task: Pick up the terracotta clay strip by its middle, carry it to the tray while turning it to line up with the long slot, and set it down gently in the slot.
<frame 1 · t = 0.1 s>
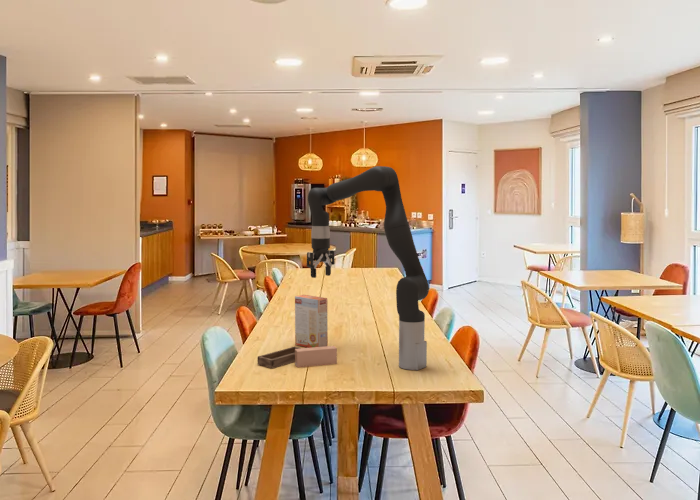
hand: (321, 276, 238), 29 cm above the table, tool pointing down, fingers open, 8 cm apart
cracker box: (311, 346, 240), on the table
tray: (283, 360, 219), on the table
clay strip: (316, 364, 215), on the table
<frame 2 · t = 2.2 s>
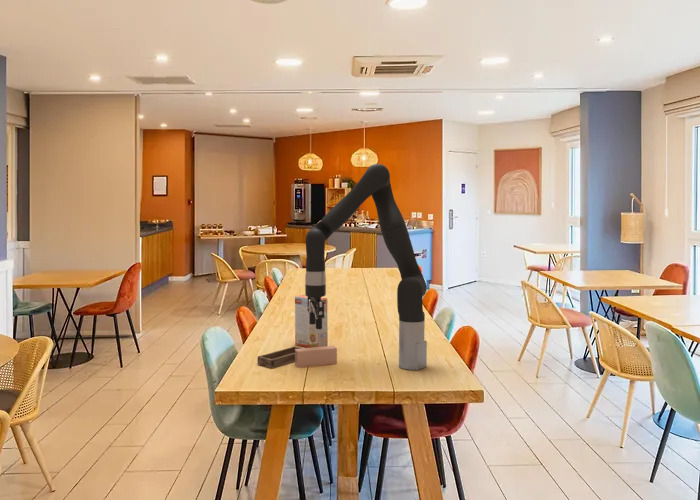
hand: (315, 326, 214), 14 cm above the table, tool pointing down, fingers open, 8 cm apart
nothing on the table moved.
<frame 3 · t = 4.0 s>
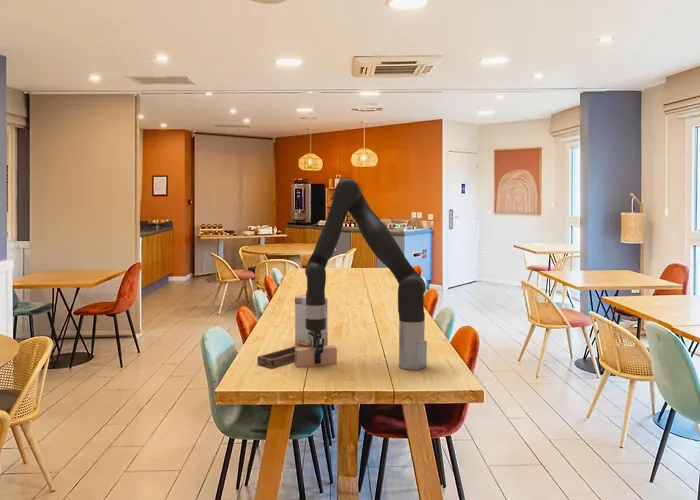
hand: (315, 361, 215), 1 cm above the table, tool pointing down, fingers closed on clay strip, 4 cm apart
clay strip: (315, 364, 215), on the table, touching gripper
everything else where it was.
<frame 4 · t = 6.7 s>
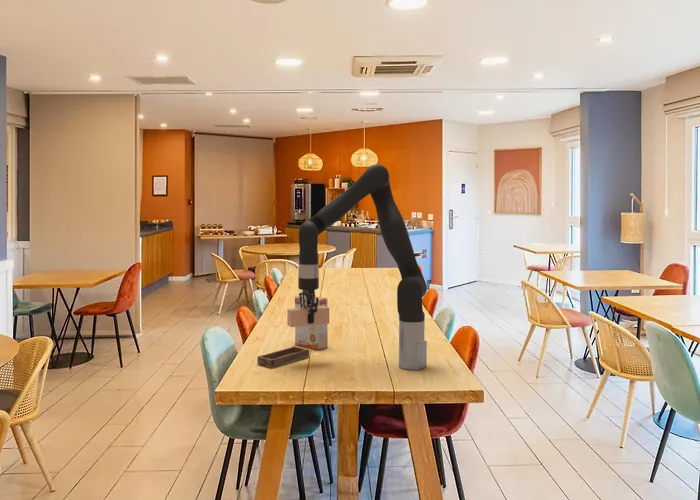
hand: (308, 321, 214), 16 cm above the table, tool pointing down, fingers closed on clay strip, 4 cm apart
clay strip: (308, 324, 214), point 15 cm above the table, touching gripper
everything else where it was.
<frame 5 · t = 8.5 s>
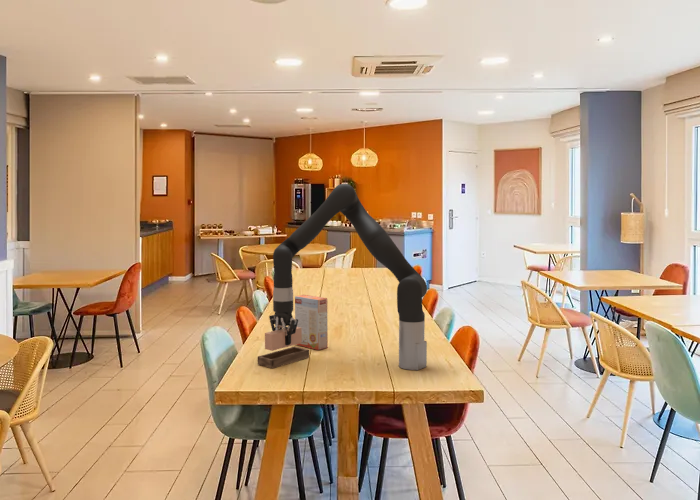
hand: (283, 343, 219), 7 cm above the table, tool pointing down, fingers closed on clay strip, 4 cm apart
clay strip: (283, 345, 219), point 6 cm above the table, touching gripper
everything else where it was.
when the fingers open (3 cm above the table, at t = 9.6 s): clay strip drops 1 cm, resting on tray.
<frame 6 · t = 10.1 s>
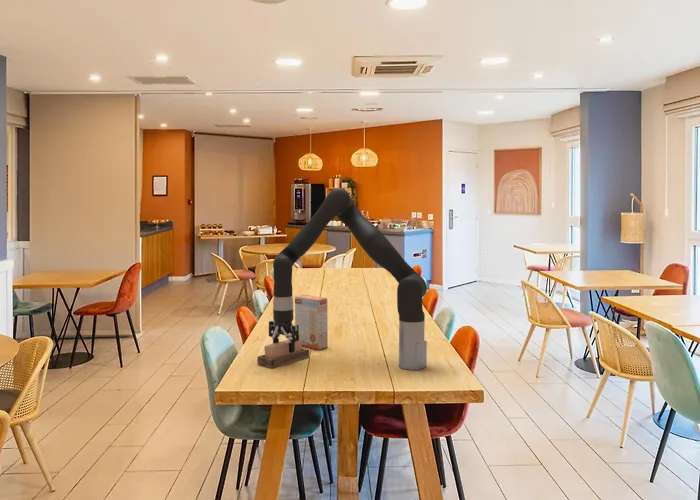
hand: (283, 350, 219), 4 cm above the table, tool pointing down, fingers open, 8 cm apart
clay strip: (283, 358, 219), point 1 cm above the table, touching tray
everything else where it was.
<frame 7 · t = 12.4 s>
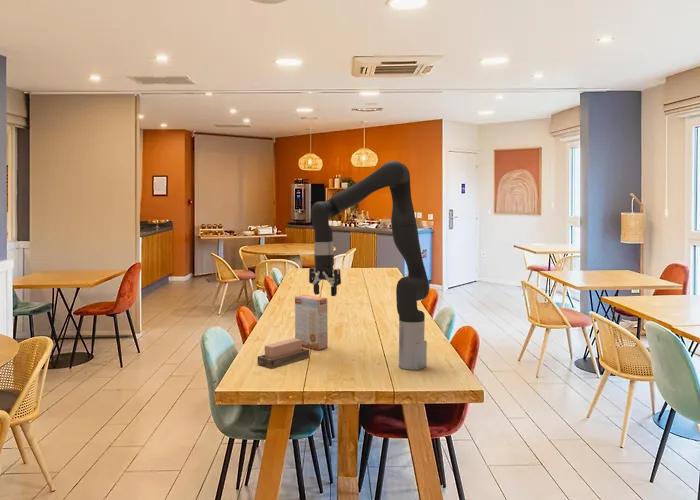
hand: (325, 295, 224), 24 cm above the table, tool pointing down, fingers open, 8 cm apart
nothing on the table moved.
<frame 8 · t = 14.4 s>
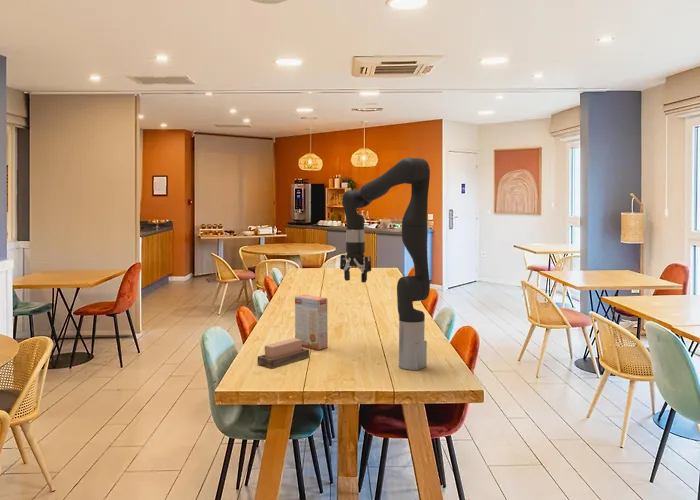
hand: (355, 281, 231), 28 cm above the table, tool pointing down, fingers open, 8 cm apart
nothing on the table moved.
at the end: clay strip 0.1 cm off-centre on the tray, point 1.0 cm above the tray's base; clay strip tilted 0°; the gripper is holding nothing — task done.
